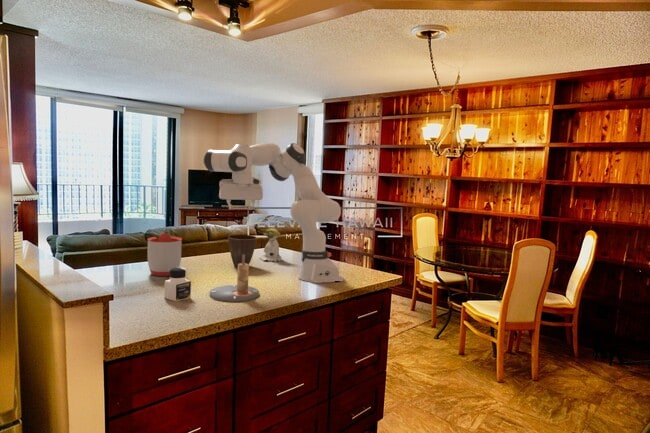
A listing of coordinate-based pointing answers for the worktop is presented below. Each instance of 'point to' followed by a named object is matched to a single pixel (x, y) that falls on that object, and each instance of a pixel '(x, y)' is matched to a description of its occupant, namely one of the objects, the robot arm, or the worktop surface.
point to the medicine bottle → (177, 285)
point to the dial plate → (232, 294)
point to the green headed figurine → (271, 246)
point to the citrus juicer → (164, 254)
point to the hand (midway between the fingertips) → (240, 209)
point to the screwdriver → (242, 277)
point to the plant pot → (241, 248)
